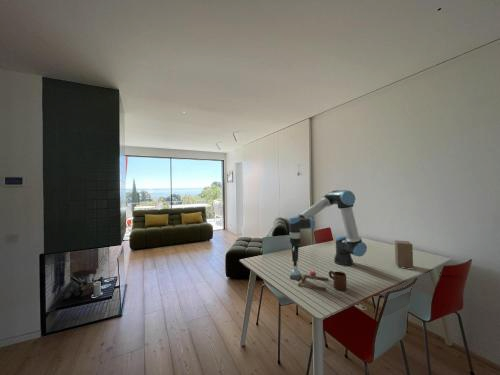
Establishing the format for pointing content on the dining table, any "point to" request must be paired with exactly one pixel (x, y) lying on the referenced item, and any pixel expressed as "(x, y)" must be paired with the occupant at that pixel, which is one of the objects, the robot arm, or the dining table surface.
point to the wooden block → (403, 254)
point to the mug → (339, 280)
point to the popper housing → (295, 277)
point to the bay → (312, 285)
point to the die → (313, 273)
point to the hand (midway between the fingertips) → (295, 269)
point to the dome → (296, 272)
